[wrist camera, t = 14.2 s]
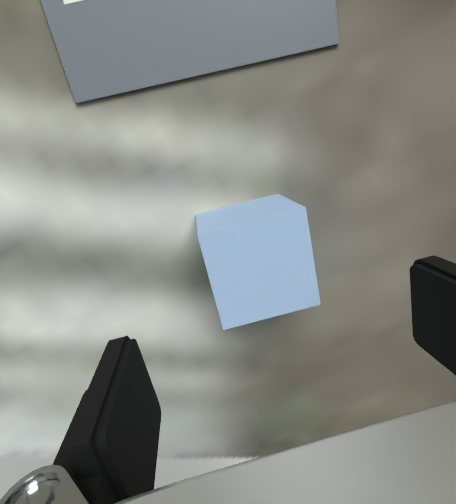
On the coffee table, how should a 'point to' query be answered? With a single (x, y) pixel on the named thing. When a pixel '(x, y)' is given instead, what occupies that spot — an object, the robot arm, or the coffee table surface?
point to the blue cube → (258, 259)
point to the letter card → (178, 38)
